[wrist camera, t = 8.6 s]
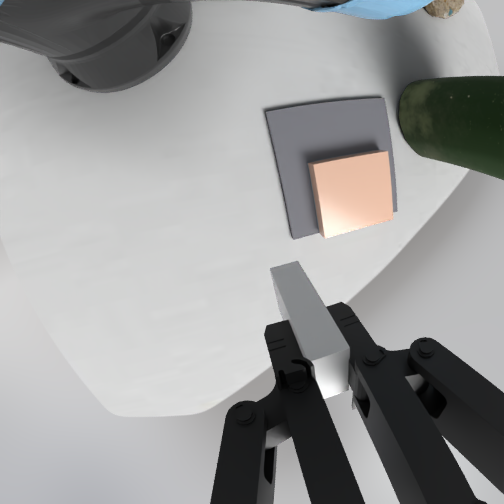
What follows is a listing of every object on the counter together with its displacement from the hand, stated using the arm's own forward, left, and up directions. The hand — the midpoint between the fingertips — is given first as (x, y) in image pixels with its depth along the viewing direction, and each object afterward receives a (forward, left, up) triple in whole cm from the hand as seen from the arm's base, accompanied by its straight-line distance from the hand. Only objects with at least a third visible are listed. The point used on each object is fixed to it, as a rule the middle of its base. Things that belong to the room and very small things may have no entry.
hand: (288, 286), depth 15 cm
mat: (-2, +11, -16) cm, 19 cm away
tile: (+1, +7, -14) cm, 16 cm away
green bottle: (-7, +25, -16) cm, 30 cm away
